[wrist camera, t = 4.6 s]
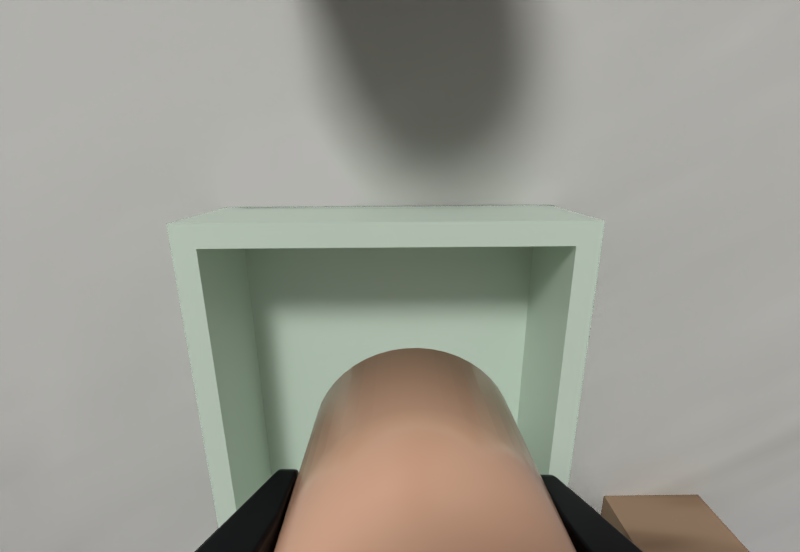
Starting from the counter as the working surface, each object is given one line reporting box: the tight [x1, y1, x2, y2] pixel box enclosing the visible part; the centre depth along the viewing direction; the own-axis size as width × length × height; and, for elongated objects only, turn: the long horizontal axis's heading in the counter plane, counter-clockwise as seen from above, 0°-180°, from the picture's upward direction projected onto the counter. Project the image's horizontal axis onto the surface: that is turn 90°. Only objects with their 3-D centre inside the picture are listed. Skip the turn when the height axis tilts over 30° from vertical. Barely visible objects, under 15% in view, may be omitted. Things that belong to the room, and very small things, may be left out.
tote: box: [166, 205, 605, 528], centre depth 17 cm, size 18×14×4 cm
